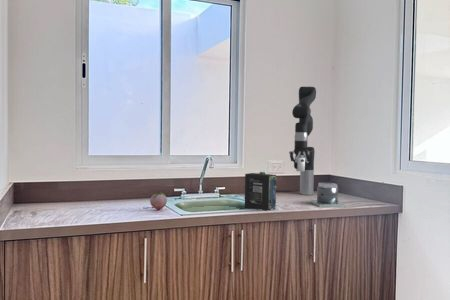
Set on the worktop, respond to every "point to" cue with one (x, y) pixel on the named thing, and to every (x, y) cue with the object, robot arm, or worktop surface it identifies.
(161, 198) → the decorative fruit
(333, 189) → the motor
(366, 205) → the worktop surface
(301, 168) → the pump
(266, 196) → the black labelled box
